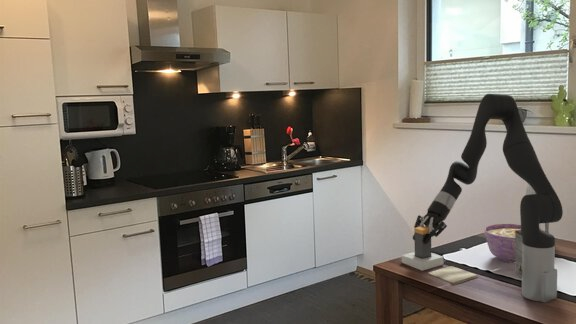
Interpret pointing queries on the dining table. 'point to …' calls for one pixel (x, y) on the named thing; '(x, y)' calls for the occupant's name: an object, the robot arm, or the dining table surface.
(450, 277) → the mat
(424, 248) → the grey square pillar
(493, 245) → the bowl of food
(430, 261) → the white square block
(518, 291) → the dining table surface
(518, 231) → the coffee box
